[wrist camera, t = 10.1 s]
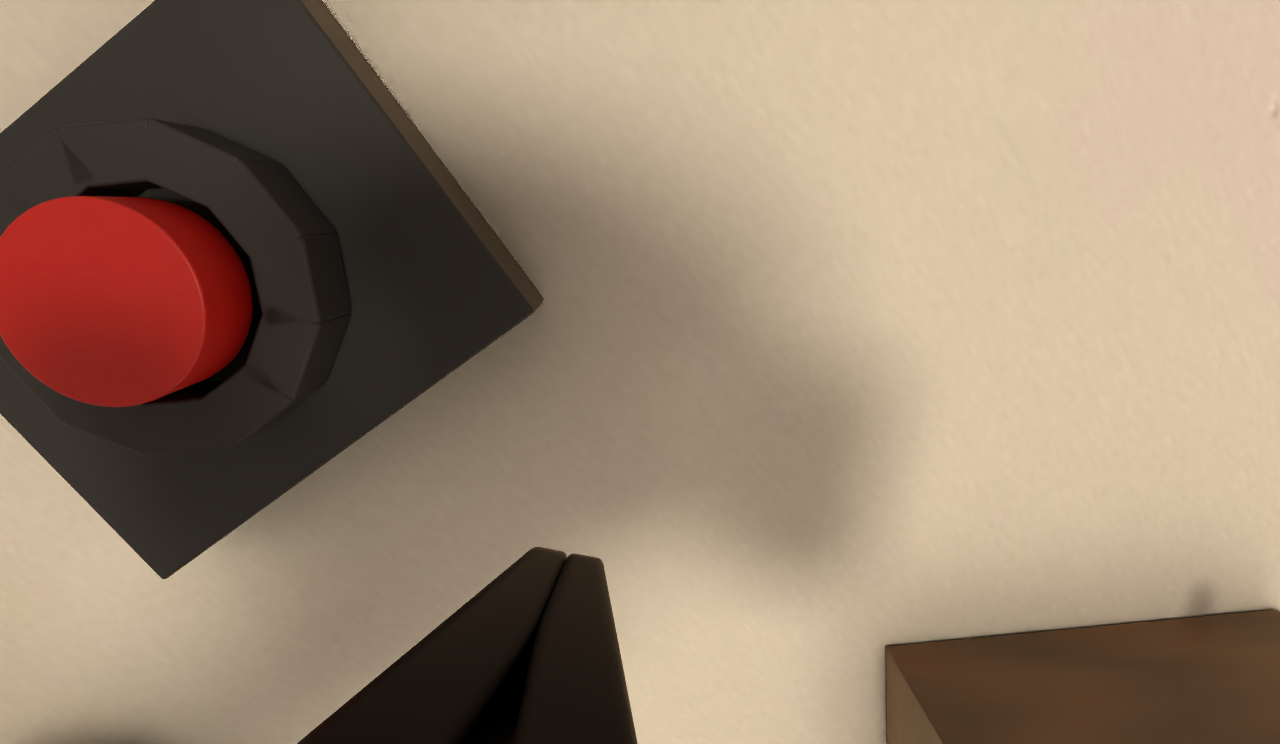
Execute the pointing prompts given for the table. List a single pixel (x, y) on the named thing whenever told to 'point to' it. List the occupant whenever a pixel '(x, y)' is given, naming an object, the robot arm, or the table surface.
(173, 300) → the button
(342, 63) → the button box
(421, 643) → the robot arm
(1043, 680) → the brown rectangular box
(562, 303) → the table surface
